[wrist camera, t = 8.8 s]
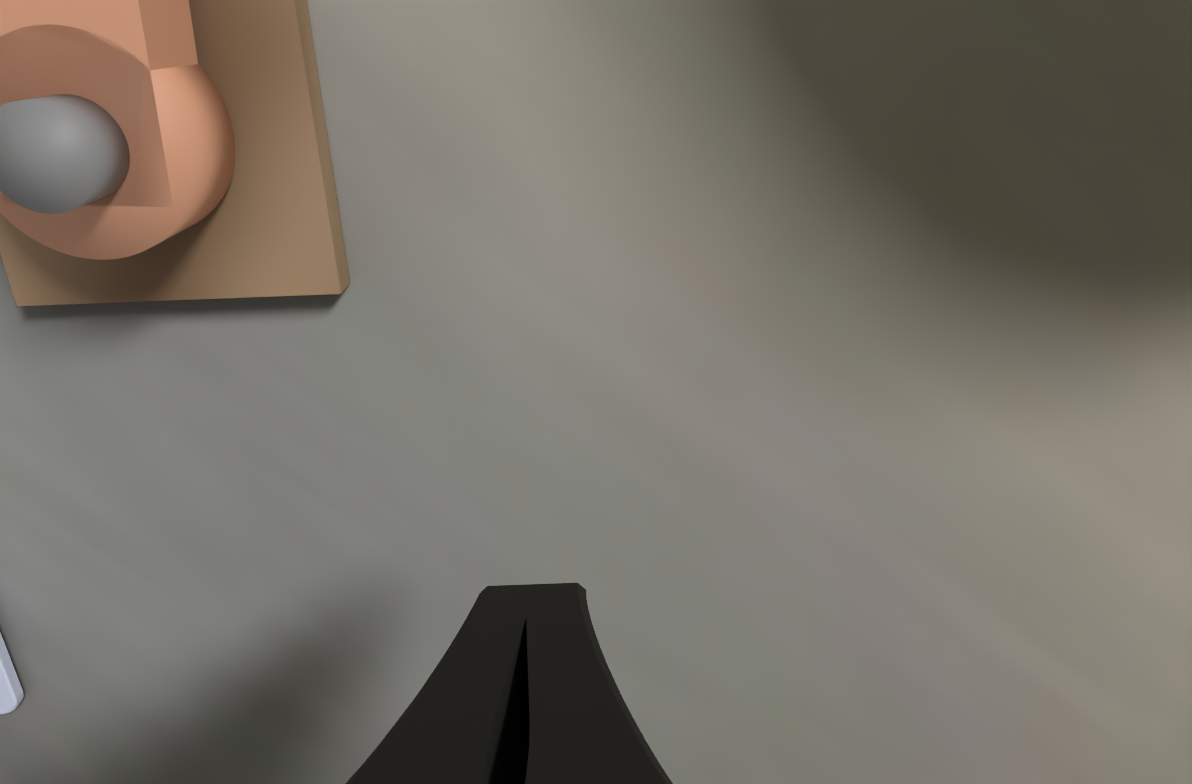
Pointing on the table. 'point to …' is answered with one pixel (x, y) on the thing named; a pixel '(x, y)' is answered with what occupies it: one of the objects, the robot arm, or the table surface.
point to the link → (107, 125)
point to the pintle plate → (254, 196)
